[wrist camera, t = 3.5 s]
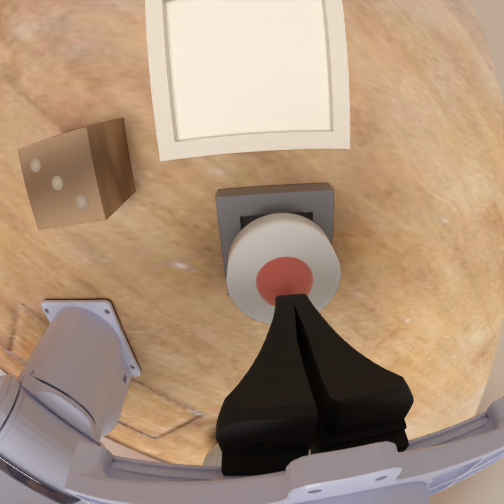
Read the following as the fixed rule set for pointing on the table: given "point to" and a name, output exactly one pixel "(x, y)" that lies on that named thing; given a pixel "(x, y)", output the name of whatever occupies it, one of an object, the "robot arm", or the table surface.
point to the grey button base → (272, 208)
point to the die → (78, 175)
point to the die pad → (247, 76)
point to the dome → (281, 264)
